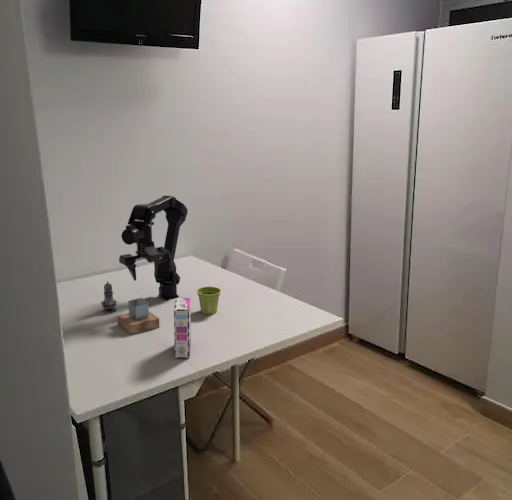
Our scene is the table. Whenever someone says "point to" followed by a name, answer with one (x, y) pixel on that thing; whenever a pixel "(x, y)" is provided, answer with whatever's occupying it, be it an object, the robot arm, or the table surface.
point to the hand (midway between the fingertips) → (146, 278)
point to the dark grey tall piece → (108, 299)
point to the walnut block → (138, 323)
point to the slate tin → (138, 309)
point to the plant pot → (208, 299)
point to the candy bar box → (182, 327)
